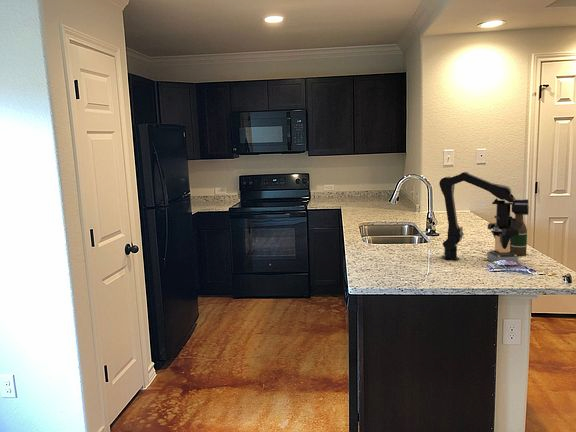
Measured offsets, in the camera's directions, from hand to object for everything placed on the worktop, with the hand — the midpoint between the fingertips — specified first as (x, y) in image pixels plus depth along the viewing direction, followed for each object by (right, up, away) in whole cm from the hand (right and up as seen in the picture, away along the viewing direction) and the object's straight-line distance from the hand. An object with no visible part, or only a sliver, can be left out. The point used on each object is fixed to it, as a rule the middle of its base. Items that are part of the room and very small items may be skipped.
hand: (502, 247), depth 216 cm
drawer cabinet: (0, -7, +1) cm, 7 cm away
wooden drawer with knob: (0, -3, 0) cm, 2 cm away
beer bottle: (+15, -5, +15) cm, 22 cm away
